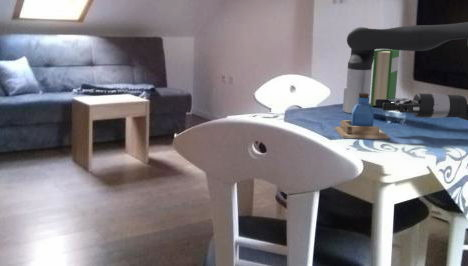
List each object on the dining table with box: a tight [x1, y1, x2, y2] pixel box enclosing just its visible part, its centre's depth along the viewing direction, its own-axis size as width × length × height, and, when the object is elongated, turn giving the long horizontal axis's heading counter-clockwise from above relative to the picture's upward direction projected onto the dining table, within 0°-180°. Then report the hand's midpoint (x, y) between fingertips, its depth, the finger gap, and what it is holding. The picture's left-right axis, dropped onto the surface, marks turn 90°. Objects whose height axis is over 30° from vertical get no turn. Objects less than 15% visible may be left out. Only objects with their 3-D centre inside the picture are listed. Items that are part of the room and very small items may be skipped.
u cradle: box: [334, 119, 390, 140], centre depth 160 cm, size 14×14×3 cm
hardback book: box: [369, 49, 400, 108], centre depth 221 cm, size 18×7×24 cm, turn 153°
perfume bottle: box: [350, 93, 375, 126], centre depth 158 cm, size 6×6×12 cm
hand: (379, 104), depth 158 cm, fingers open, 8 cm apart
